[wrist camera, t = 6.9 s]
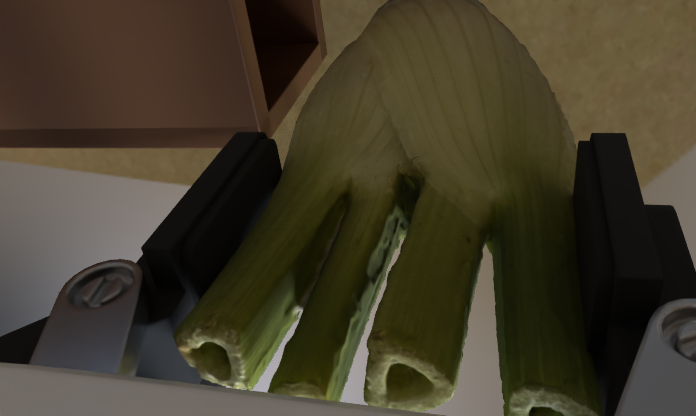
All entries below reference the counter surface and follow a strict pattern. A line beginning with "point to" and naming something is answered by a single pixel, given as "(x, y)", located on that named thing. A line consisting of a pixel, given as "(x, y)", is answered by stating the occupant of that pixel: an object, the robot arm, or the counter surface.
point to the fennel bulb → (412, 227)
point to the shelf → (152, 70)
